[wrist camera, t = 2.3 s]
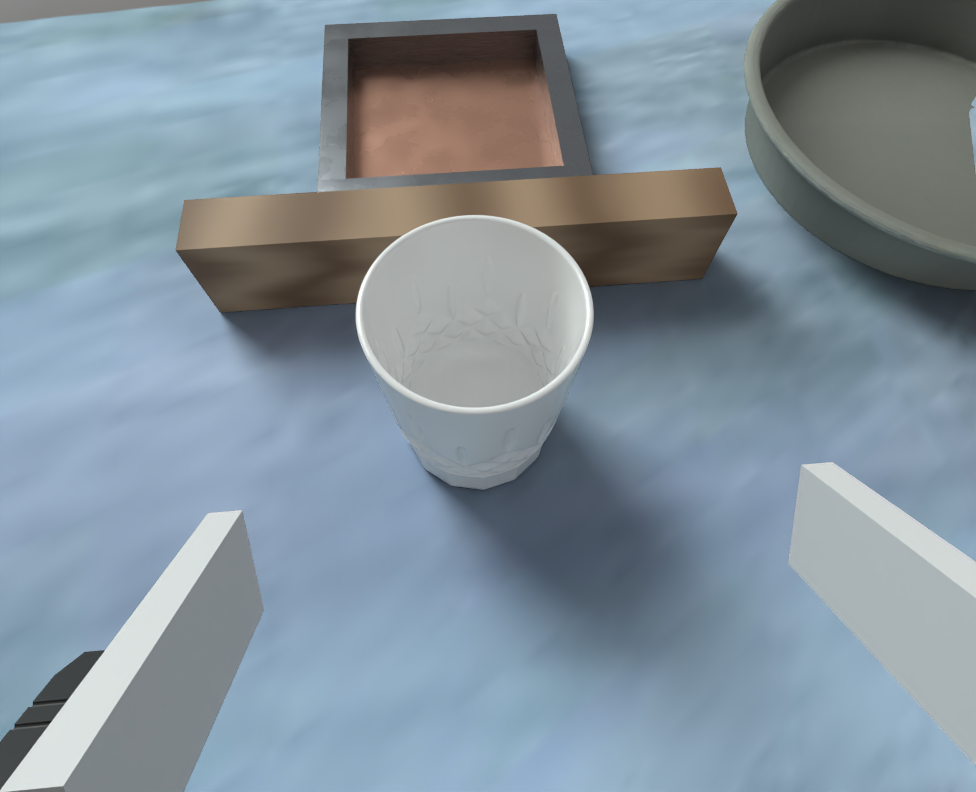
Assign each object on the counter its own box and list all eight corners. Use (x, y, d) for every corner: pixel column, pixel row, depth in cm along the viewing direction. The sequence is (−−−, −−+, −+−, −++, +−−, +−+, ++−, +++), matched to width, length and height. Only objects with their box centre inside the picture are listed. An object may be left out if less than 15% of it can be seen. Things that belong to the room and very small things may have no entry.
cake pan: (943, 397, 30) (1017, 352, 26) (639, 109, 39) (658, 42, 34) (1215, 204, 35) (1310, 142, 31) (896, -8, 44) (938, -77, 40)
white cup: (393, 359, 30) (355, 221, 21) (546, 346, 30) (573, 206, 21) (398, 510, 27) (355, 424, 18) (570, 494, 27) (614, 402, 18)
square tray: (327, 232, 33) (316, 201, 31) (333, 60, 40) (324, 25, 38) (587, 215, 34) (595, 184, 32) (552, 49, 41) (556, 13, 38)
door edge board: (220, 312, 31) (175, 250, 27) (225, 266, 32) (184, 200, 28) (701, 278, 32) (737, 213, 28) (688, 236, 34) (720, 167, 29)
